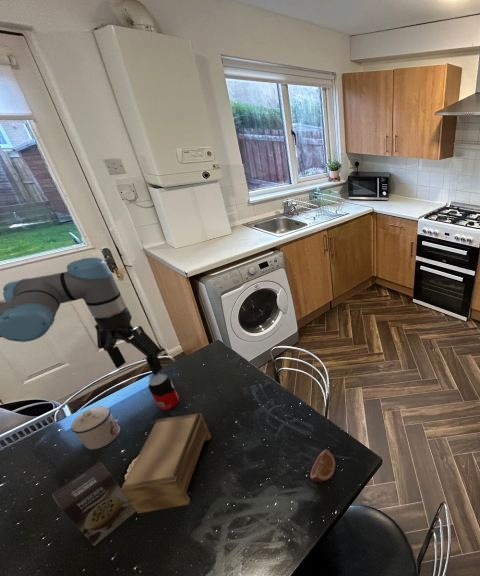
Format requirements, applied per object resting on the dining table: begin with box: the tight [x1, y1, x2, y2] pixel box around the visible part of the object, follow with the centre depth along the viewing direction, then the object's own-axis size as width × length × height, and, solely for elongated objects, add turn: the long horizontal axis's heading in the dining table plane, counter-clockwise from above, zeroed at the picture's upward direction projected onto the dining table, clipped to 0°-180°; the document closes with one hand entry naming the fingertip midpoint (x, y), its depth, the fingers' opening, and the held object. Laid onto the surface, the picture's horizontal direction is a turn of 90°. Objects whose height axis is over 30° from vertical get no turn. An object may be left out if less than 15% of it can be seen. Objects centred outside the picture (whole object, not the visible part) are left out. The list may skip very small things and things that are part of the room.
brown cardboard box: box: [52, 461, 137, 546], centre depth 74 cm, size 9×6×16 cm
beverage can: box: [148, 373, 180, 411], centre depth 106 cm, size 6×6×12 cm
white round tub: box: [70, 405, 121, 450], centre depth 96 cm, size 12×9×12 cm
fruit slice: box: [309, 448, 336, 483], centre depth 87 cm, size 8×7×5 cm
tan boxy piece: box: [120, 412, 212, 514], centre depth 86 cm, size 12×20×12 cm, turn 11°
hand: (139, 368), depth 97 cm, fingers open, 13 cm apart
